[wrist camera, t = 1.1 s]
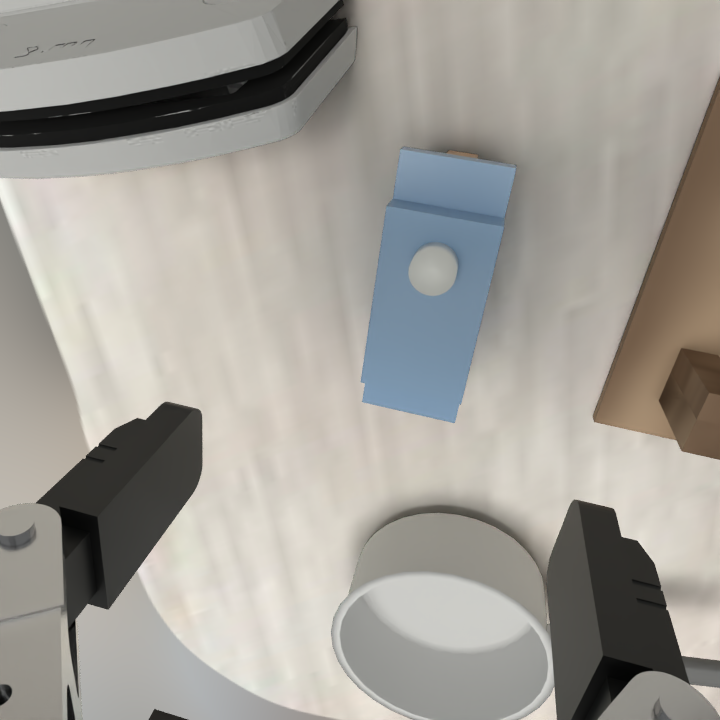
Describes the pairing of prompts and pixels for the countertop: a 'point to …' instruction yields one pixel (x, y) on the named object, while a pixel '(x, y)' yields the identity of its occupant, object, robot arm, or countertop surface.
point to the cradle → (677, 318)
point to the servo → (433, 279)
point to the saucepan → (453, 623)
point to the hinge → (159, 80)
